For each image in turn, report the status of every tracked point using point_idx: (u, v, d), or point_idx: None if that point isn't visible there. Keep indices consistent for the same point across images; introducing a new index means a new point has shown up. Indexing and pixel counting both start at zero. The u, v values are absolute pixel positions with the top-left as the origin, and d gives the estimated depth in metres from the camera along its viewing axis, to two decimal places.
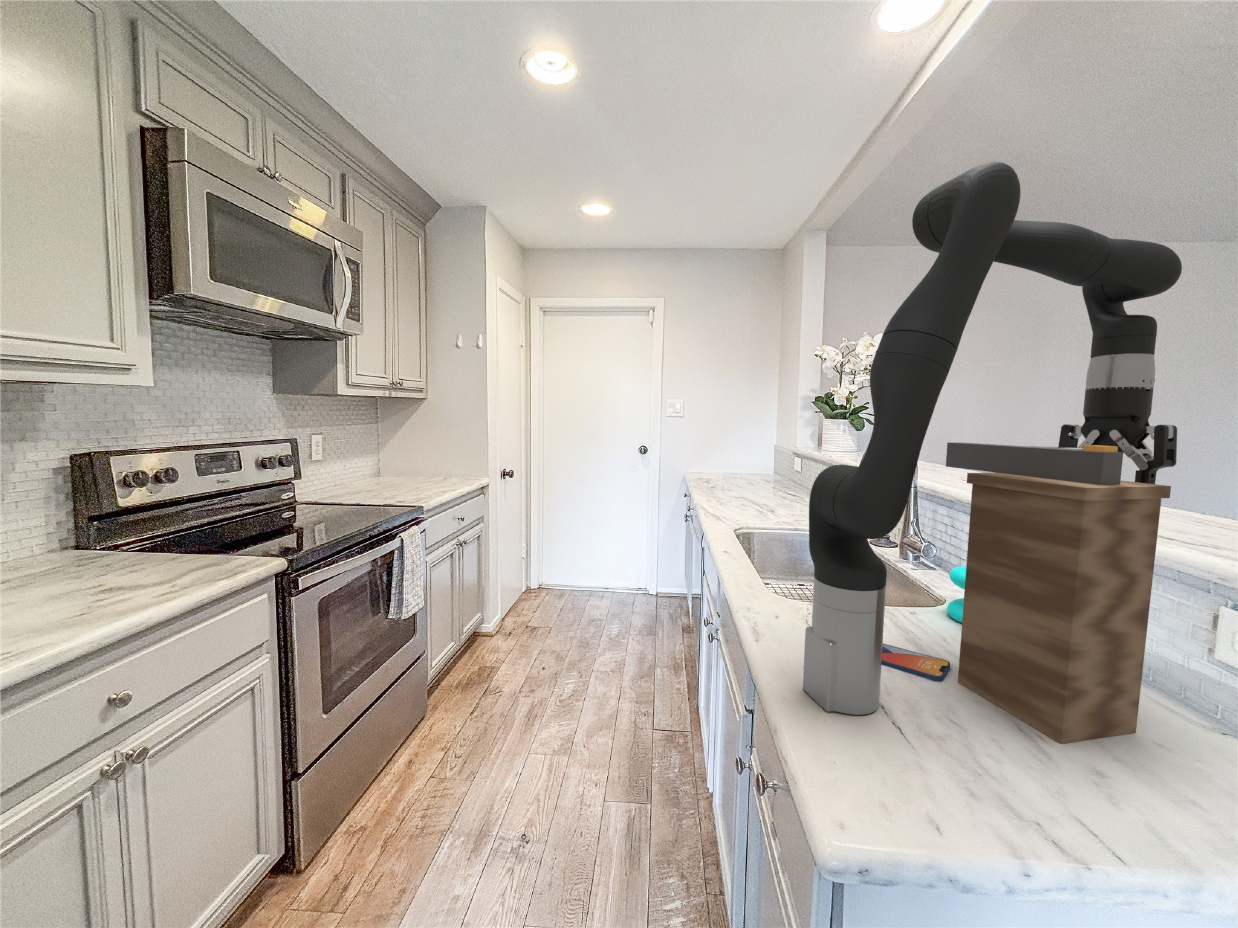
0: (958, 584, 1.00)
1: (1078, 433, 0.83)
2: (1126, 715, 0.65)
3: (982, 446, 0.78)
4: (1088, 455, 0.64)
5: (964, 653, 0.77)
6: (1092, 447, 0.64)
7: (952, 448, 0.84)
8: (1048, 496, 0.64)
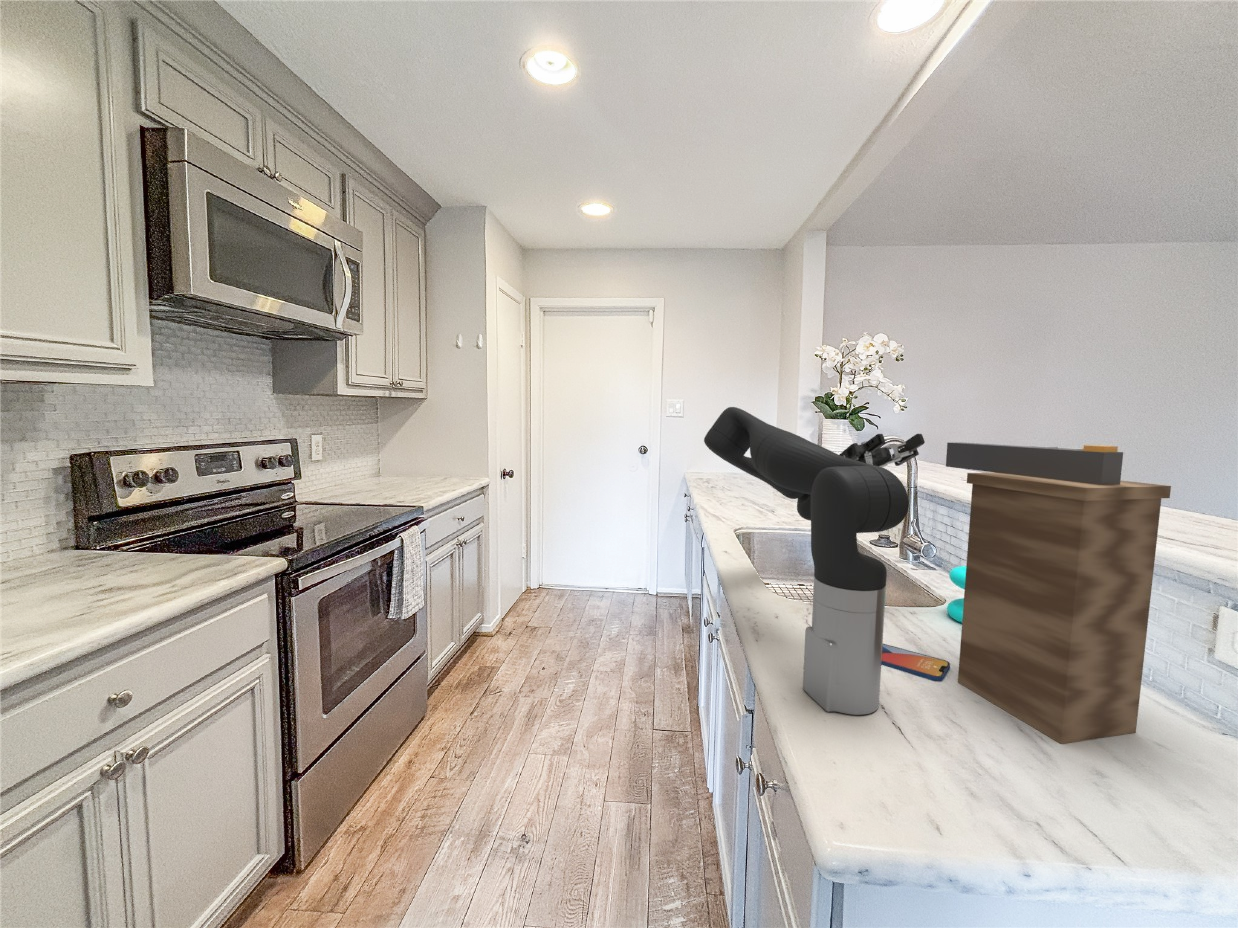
0: (958, 584, 1.00)
1: None
2: (1126, 715, 0.65)
3: (982, 446, 0.78)
4: (1088, 455, 0.64)
5: (964, 653, 0.77)
6: (1092, 447, 0.64)
7: (952, 448, 0.84)
8: (1048, 496, 0.64)
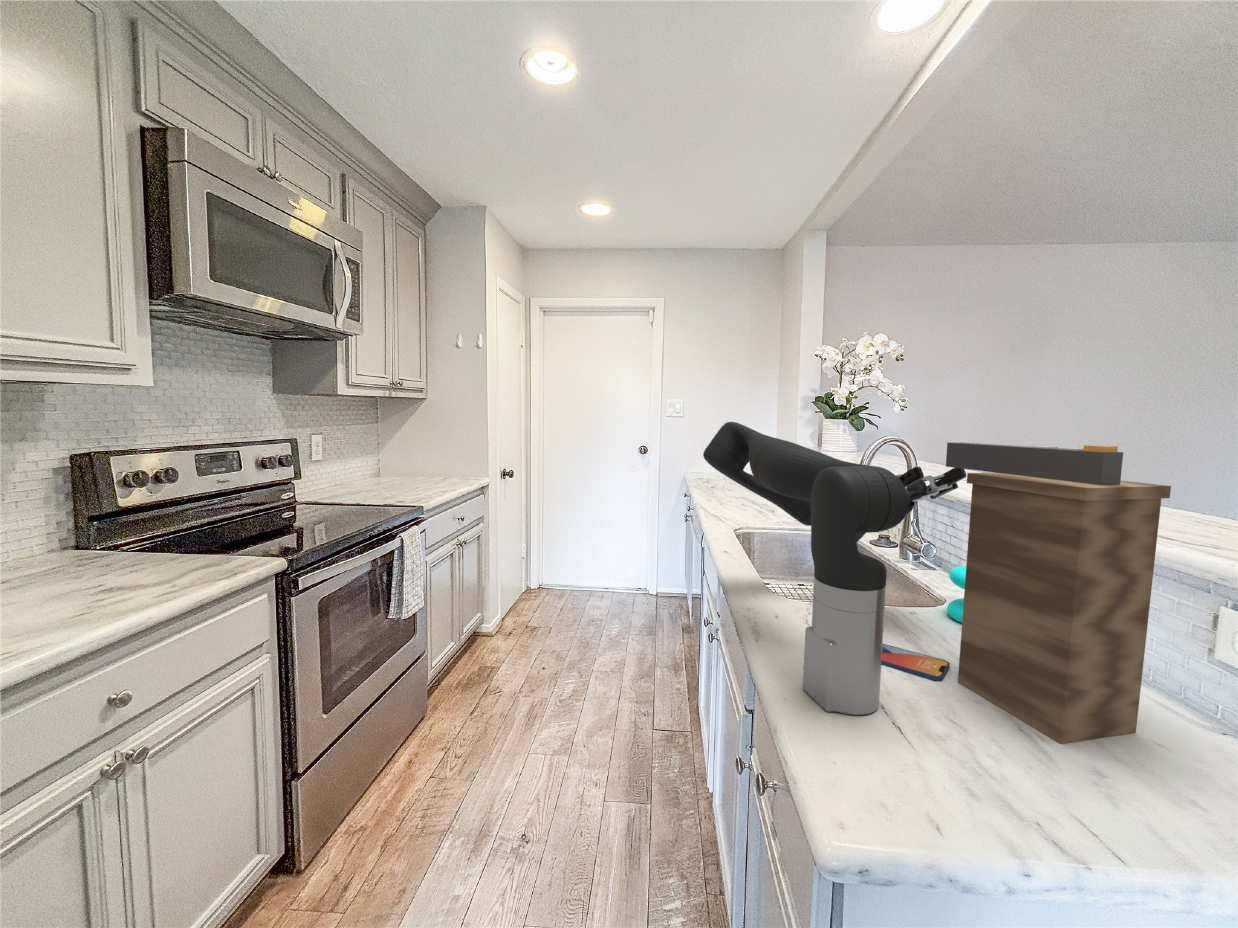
0: (958, 584, 1.00)
1: None
2: (1126, 715, 0.65)
3: (982, 446, 0.78)
4: (1088, 455, 0.64)
5: (964, 653, 0.77)
6: (1092, 447, 0.64)
7: (952, 448, 0.84)
8: (1048, 496, 0.64)
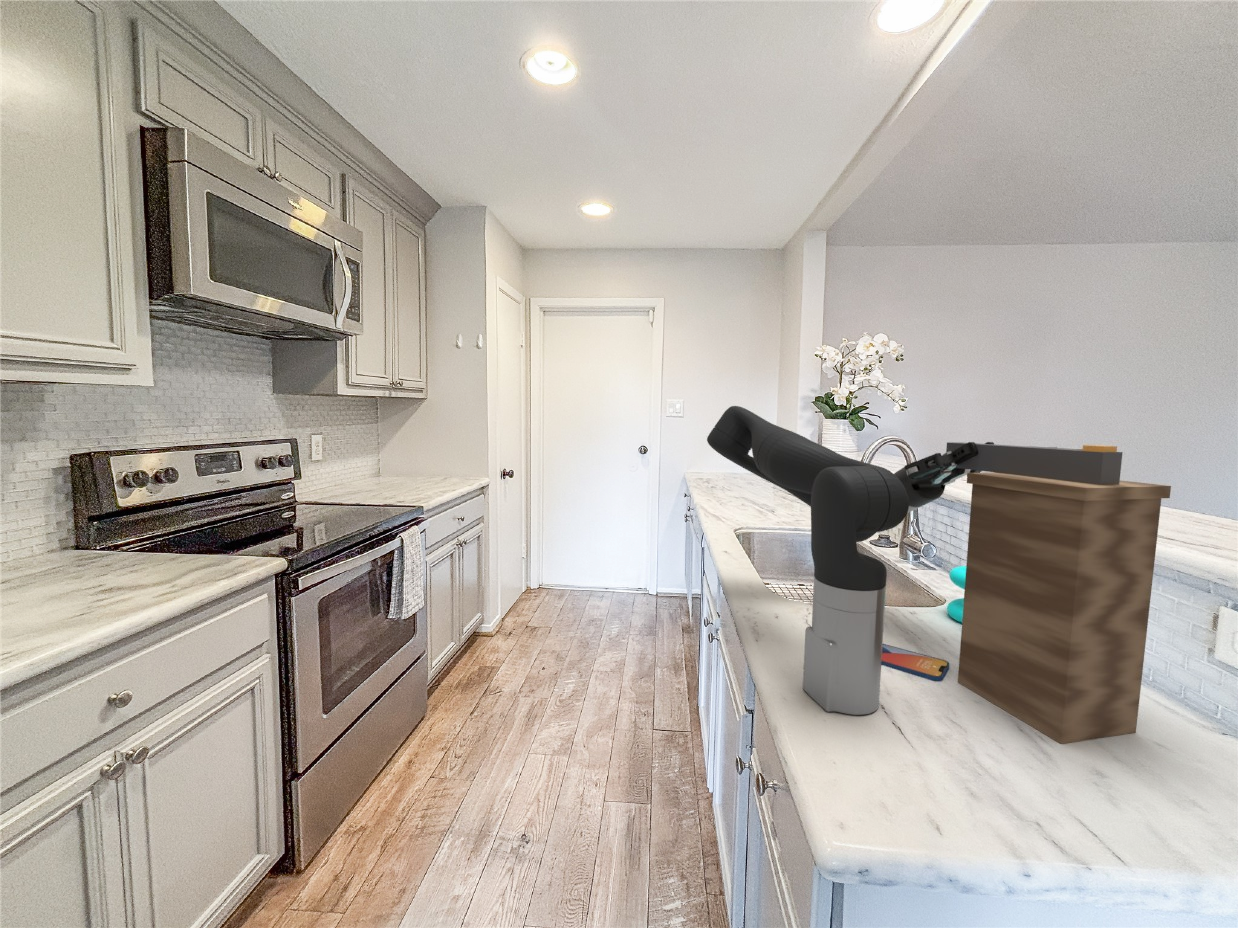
0: (958, 584, 1.00)
1: None
2: (1126, 715, 0.65)
3: (981, 446, 0.78)
4: (1087, 455, 0.64)
5: (964, 653, 0.77)
6: (1091, 447, 0.64)
7: (952, 448, 0.84)
8: (1048, 496, 0.64)
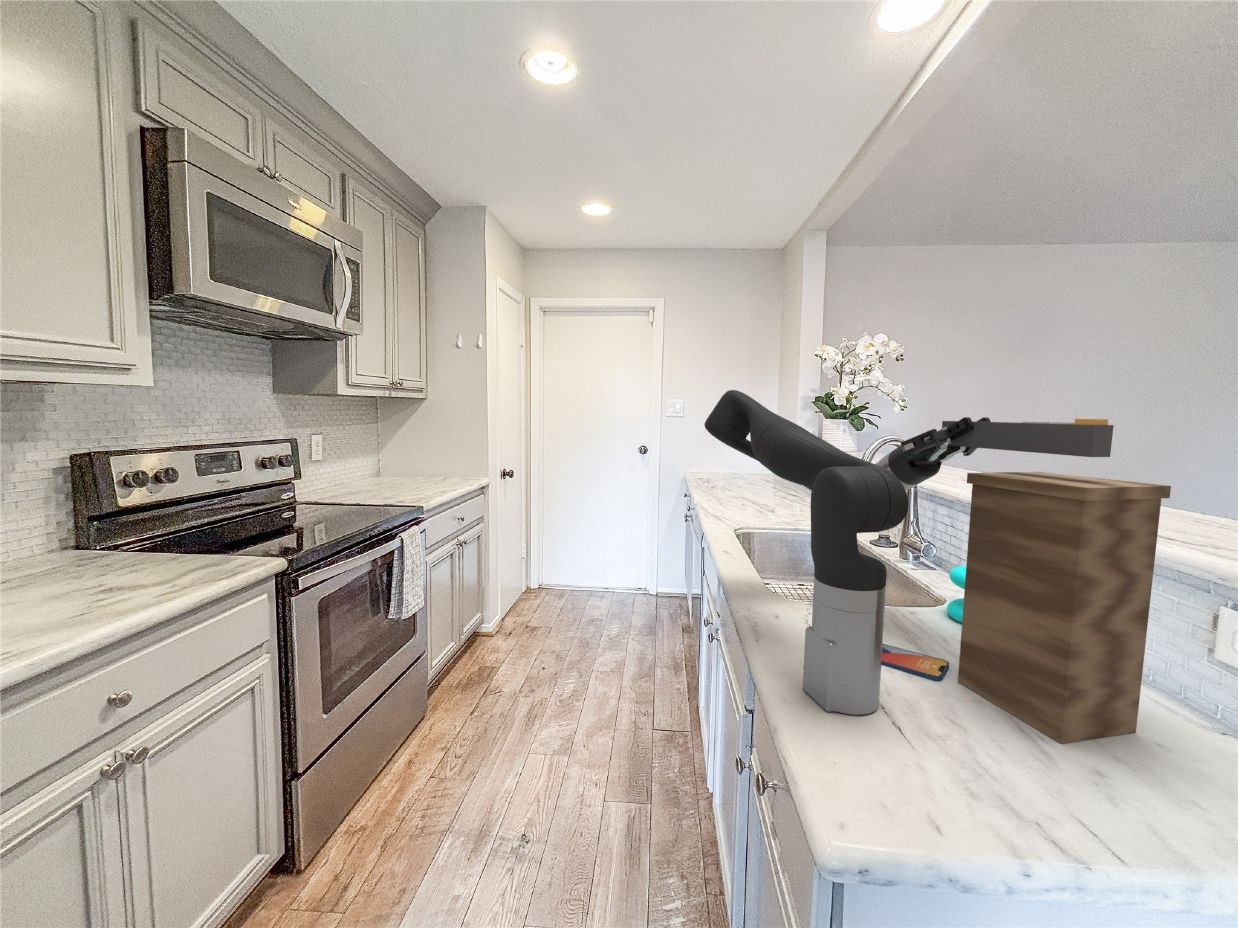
0: (958, 584, 1.00)
1: None
2: (1126, 715, 0.65)
3: (976, 423, 0.79)
4: (1079, 428, 0.65)
5: (964, 653, 0.77)
6: (1083, 420, 0.65)
7: (947, 426, 0.85)
8: (1048, 496, 0.64)
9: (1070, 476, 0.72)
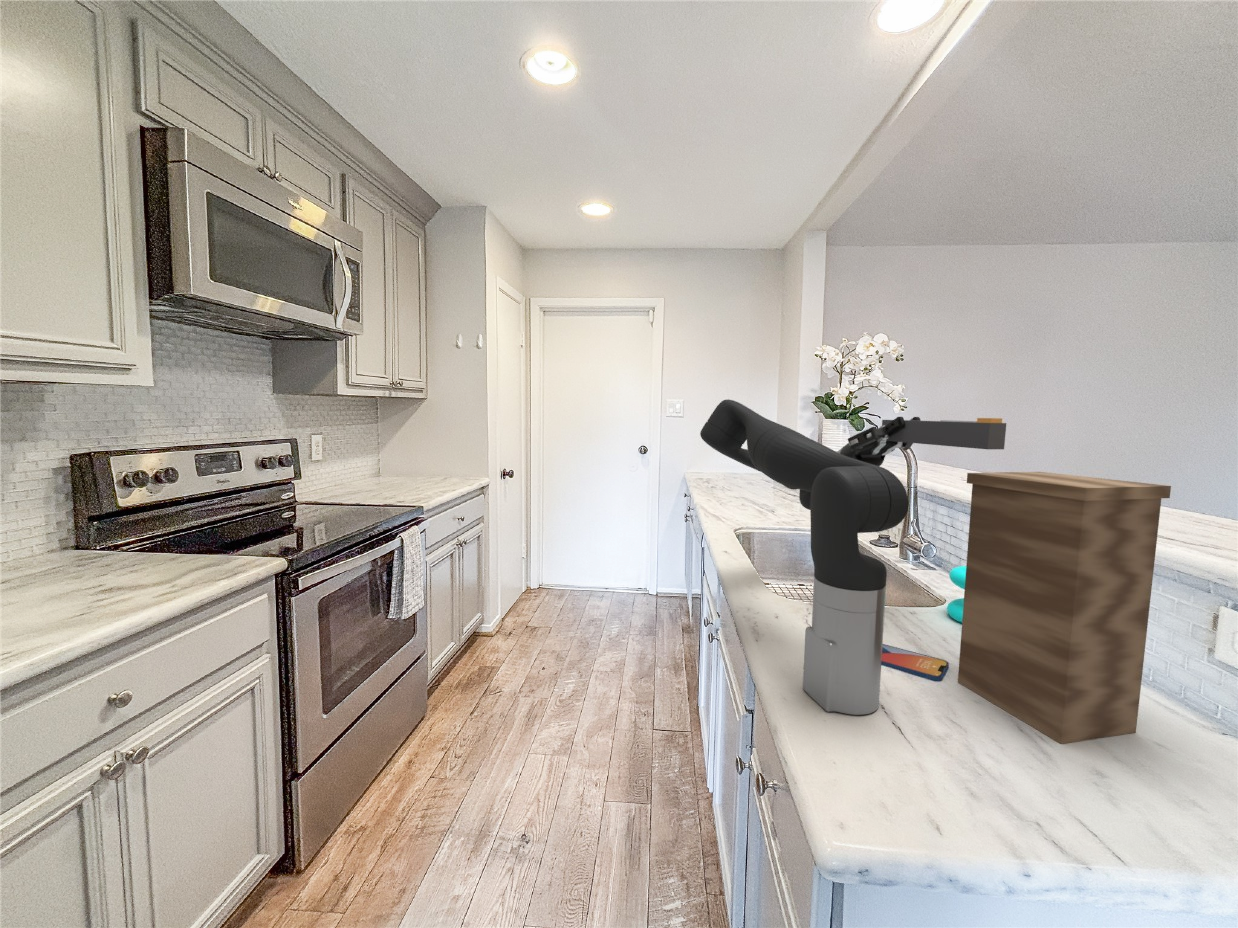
0: (958, 584, 1.00)
1: None
2: (1126, 715, 0.65)
3: (907, 422, 0.93)
4: (979, 425, 0.79)
5: (964, 653, 0.77)
6: (983, 419, 0.79)
7: (885, 424, 0.98)
8: (1048, 496, 0.64)
9: (1070, 476, 0.72)
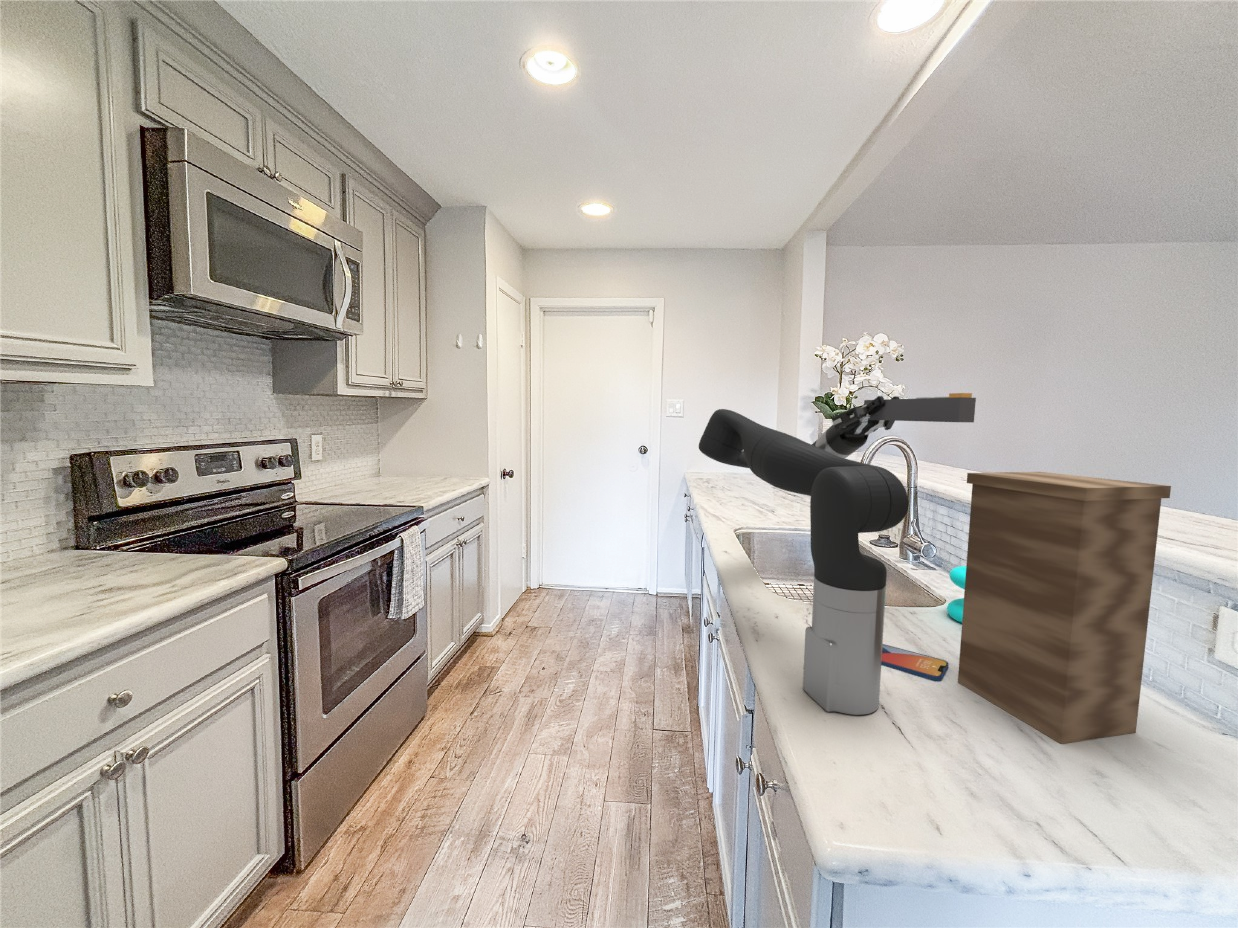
0: (958, 584, 1.00)
1: None
2: (1126, 715, 0.65)
3: (886, 400, 0.98)
4: (951, 400, 0.84)
5: (964, 653, 0.77)
6: (954, 394, 0.84)
7: (867, 404, 1.04)
8: (1048, 496, 0.64)
9: (1070, 476, 0.72)
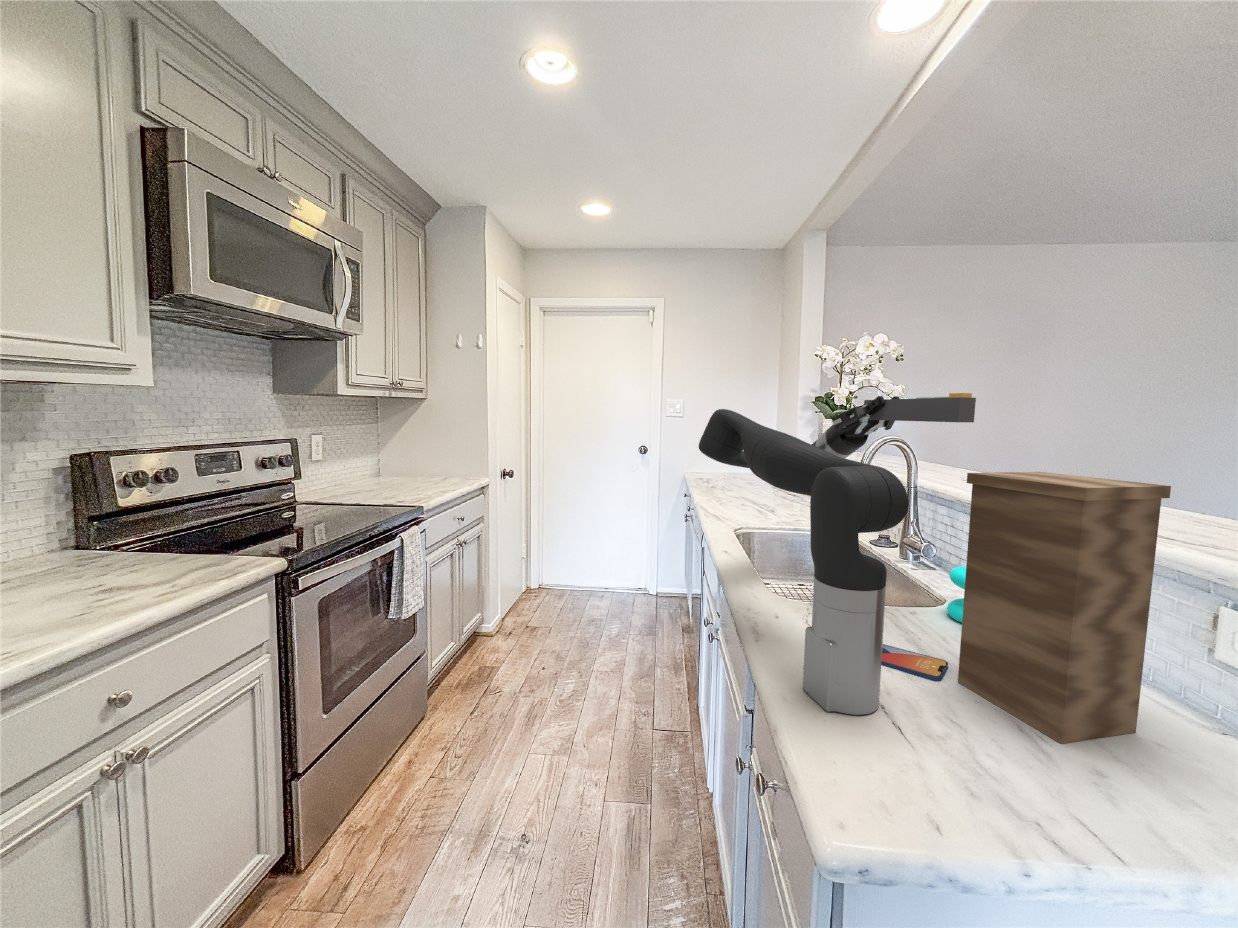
0: (958, 584, 1.00)
1: None
2: (1126, 715, 0.65)
3: (886, 400, 0.98)
4: (951, 400, 0.84)
5: (964, 653, 0.77)
6: (954, 394, 0.84)
7: (867, 404, 1.04)
8: (1048, 496, 0.64)
9: (1070, 476, 0.72)
